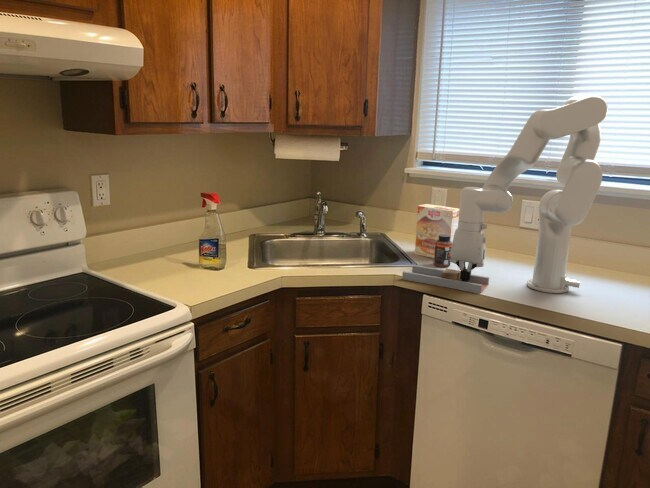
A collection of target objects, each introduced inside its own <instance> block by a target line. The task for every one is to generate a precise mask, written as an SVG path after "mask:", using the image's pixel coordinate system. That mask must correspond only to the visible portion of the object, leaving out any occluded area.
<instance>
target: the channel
mask: <svg viewBox="0 0 650 488" xmlns="http://www.w3.org/2000/svg"><path fill="white" fill-rule="evenodd" d="M411 268H412V269H411V271H406V270H405V271H402V277H401V280H404V281H409V282H410V281H411V282H415V283H416V282H417V283H421V284H427V285H430V286H431V285H432V286H438V287H443V288H450V289H455V290H460V291H465V292H470V293H477V294H482V293H483V292H484V291H485V290H486V288H487V287H488V286H489V285H490V276H484V275H479V274H478V275H477V274H472V273H471V279H470V281H468V282H464V281H458V280H452V279H446V278H441V276H442V272H443V271H444V270H445V269H441V268H435V267H429V266H428V267H427V266H423V265H417V264H413V265H412V266H411ZM461 280H462V279H461Z"/></svg>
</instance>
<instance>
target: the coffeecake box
mask: <svg viewBox="0 0 650 488" xmlns="http://www.w3.org/2000/svg"><path fill="white" fill-rule="evenodd" d="M459 209H460V208H457V207H450V206H443V205H439V204H438V205H436V204H430V203H425V204H420V205H419V204H418V206H417V214H416V215H417V218H416V230H415V243H414V244H415V246H414V248H415V249H414V255H416V256H423V257H426V258H431V259H434V257H435V244H436V241H437V240H439V235H440V234H446V235H450V241H451V242H453V237H454V233H455V230H456V229H457V228H458V220H459Z"/></svg>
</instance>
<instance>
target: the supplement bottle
mask: <svg viewBox="0 0 650 488" xmlns="http://www.w3.org/2000/svg"><path fill="white" fill-rule="evenodd" d="M451 248H452V242H451V241H450V235H446V234H440V235H439V240H437V241H436V244H435V257H434V258H433V264H434V265H435V266H436V267H438V268H439V267H440V268H448V267H450V266H451V264H452V262H450V259H451Z"/></svg>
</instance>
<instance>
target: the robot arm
mask: <svg viewBox="0 0 650 488" xmlns="http://www.w3.org/2000/svg"><path fill="white" fill-rule="evenodd" d="M608 107H609V106H608V103H607V101H606V100H605V99H604V98H603V97H601V96H598V95H595V94H594V95H593V94H592V95H577V96H573V97H570V98H569V99H567V100H566V101H565V103H564V104H563V105H562V106H560V107H556V108H550V109H549V108H547V109H546V108H545V109H537V110H536V111H534V112H533V113H532V114H531V115H530V116H529V118H528V119H527V120H526V122H525V125H524V126H523V127H522V130H521V131H520V133H519V135H518V136H517V138H516V140H515V141H514V143H513V145H512V146H511V148H510V150H509V151H508V153H507V154H506V155H505V156H504V157H503V158H502V159H501V160H500V162H498V164H497V165H496V166H495V168H494V169H493V170H492V172H491V173H489V176H488V177H487V179H486V180H485V182H484V184H483V186H482V187H478V186H465V187H463V188H462V189H461V191H460V200H459V208H458V209H459V220H458V228H457V229H456V230H455V233H454V237H453V242H452V248H451V259H450V262H451V264H455V265H456V266H457V267H458V269H459V271H461V274H460V279H462V280H461V281H464V282H468V281H470V279H471V274H472V271H473V270H474V269H476V268H483V267H484V265H485V261H484V260H485V257H486V232H485V231H484V230H488V224H485V222H484V216H485V212H489V213H495V214H503V213H507V212H508V211H509V210H511V209H512V207H513V204H514V197H513V195H512V194H511V193H510V191H508V189H509V187H510V186H511V184H512V183H513V182H514V181H515V180H516V178H518V177H519V176H520V175H521V174H523V173H525V172H526V171H528V170H530V169H531V168H532V167H534V166H535V165H536V163H537V161H538V159H540V156H541V155H542V154H543V152H544V149H546V146H547V145H548V144H549V141H550V140H556V139H560V138H564V137H566V136H569V140H568V142H567V146H566V148H565V150H564V153H563V155H562V158H561V160H560V162H559V164H558V167H557V169H556V175H555V177H556V179H557V180H556V181H557V182H558V183H559V184H560V185H562V186H563V187H564V188H563V189H552V190H549V191H547V192H546V193H545V194H543V196H542V197H541V198H540V200H539V205H538V233H537V240H536V248H535V249H536V250H535V257H534V267H533V275H532V278H530V279H528V280H527V281H526V285H527V286H528V288H530V289H533V290H535V291H538V292H543V293H548V294H562V293H567V292H569V290H570V287H572V288H577V289H579V288H580V286H581V281H578V280H576V279H570V278H569V277H568V274H566V273H567V267H568V266H567V265H568V259H569V253H570V252H569V251H570V244H571V237H572V227H574V226H578V225H579V224H581V223H582V222H583V221H584V220H585V219H586V217H587V216H588V214H589V212H590V209H591V207H592V206H593V203H594V201H595V199H596V197H597V194H598V192H599V191H600V190H599V189H600V187H601V185H602V181H603V170H602V167H601V165H600V164H599V163H598V162H596V161H595V158H596V155H597V153H598V150H599V147H600V144H601V139H602V133H601V126H600V123H602V122H603V121H604V120H605V119H606V116H608V112H609V108H608ZM466 263H468V264H467V267H466Z"/></svg>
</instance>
